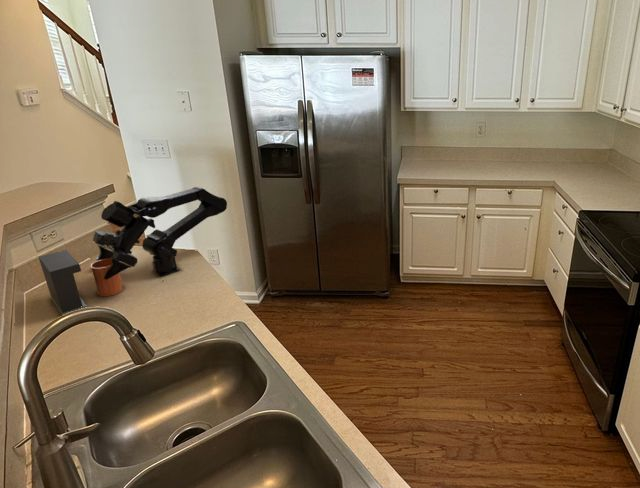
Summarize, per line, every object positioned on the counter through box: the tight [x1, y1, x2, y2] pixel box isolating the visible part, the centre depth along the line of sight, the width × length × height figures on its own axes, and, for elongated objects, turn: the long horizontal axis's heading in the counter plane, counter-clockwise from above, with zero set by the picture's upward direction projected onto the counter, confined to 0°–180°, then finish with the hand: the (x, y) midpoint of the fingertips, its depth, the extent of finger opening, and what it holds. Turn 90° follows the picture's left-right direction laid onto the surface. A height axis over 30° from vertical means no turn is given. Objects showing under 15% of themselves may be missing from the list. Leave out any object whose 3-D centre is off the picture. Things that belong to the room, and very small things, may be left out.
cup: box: [90, 259, 124, 297], centre depth 139 cm, size 7×7×10 cm
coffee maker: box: [38, 249, 88, 316], centre depth 131 cm, size 7×14×15 cm, turn 49°
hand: (100, 274), depth 137 cm, fingers open, 9 cm apart
